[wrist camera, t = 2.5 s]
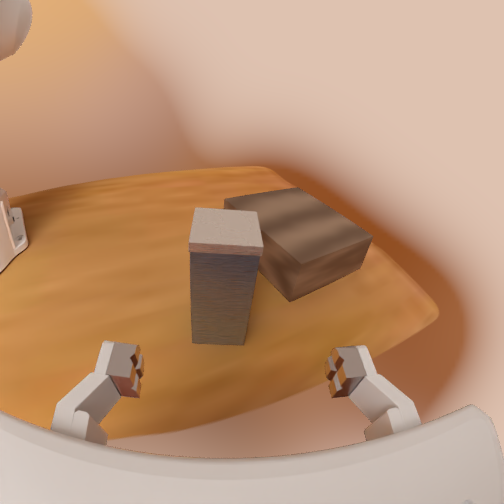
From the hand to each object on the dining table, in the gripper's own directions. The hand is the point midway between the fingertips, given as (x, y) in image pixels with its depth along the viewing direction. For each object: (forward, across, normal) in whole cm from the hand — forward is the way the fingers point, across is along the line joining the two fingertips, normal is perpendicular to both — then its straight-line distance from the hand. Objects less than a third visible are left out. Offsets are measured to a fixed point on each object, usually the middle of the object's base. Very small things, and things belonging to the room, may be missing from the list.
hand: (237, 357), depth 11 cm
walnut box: (+27, -10, +13) cm, 31 cm away
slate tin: (+13, 0, +13) cm, 18 cm away
